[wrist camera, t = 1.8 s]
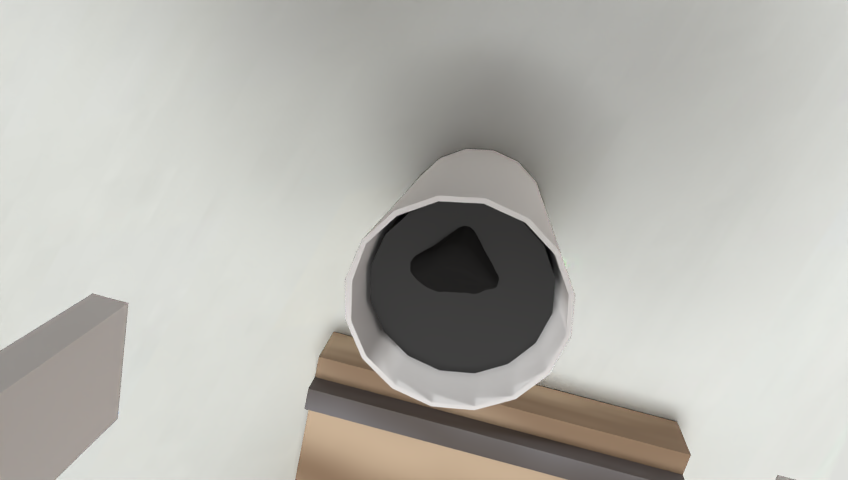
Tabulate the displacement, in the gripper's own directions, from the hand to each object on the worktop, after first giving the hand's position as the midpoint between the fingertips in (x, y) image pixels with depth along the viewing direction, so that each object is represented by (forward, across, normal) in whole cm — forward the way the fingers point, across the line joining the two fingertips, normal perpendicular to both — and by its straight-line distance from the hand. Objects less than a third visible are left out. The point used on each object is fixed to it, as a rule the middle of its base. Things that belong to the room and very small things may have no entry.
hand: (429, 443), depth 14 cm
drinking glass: (+17, 0, 0) cm, 17 cm away
